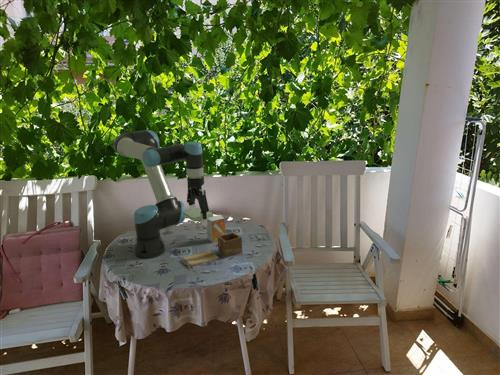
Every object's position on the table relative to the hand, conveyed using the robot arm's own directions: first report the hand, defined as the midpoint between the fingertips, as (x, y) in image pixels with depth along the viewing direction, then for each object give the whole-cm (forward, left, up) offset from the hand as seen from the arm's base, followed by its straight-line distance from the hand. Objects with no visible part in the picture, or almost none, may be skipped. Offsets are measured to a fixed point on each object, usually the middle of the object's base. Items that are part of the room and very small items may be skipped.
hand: (198, 221), depth 182 cm
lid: (0, 0, +3) cm, 3 cm away
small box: (-16, +16, -20) cm, 30 cm away
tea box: (+3, +14, -20) cm, 25 cm away
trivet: (0, -1, -20) cm, 20 cm away
